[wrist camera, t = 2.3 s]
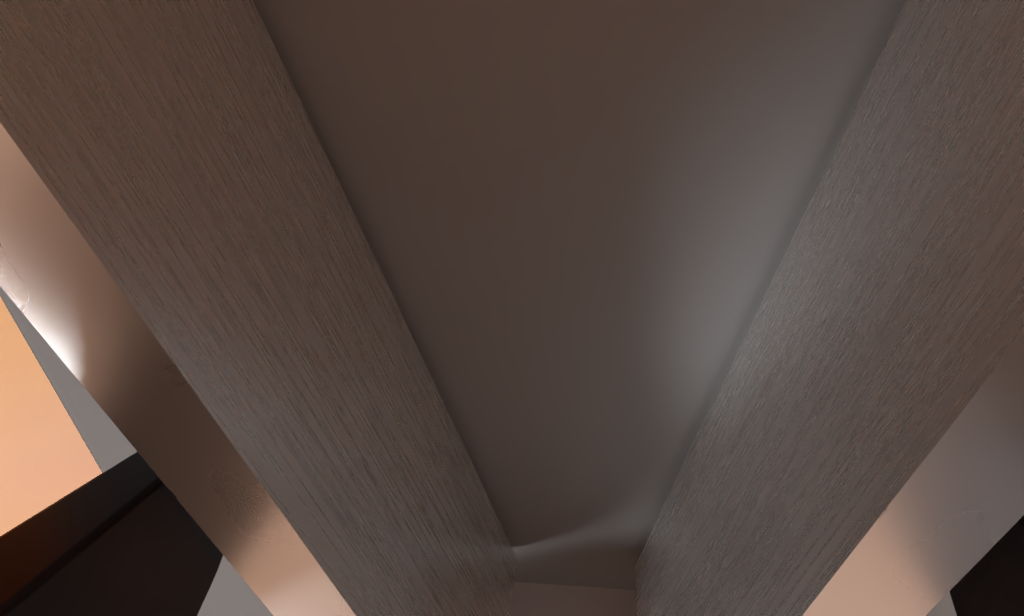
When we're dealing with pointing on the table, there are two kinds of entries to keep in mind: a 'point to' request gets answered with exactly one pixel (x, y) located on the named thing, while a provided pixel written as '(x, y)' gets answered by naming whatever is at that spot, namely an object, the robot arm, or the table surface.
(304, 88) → the tong mat
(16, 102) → the tong leg
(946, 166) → the tong leg
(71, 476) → the table surface
